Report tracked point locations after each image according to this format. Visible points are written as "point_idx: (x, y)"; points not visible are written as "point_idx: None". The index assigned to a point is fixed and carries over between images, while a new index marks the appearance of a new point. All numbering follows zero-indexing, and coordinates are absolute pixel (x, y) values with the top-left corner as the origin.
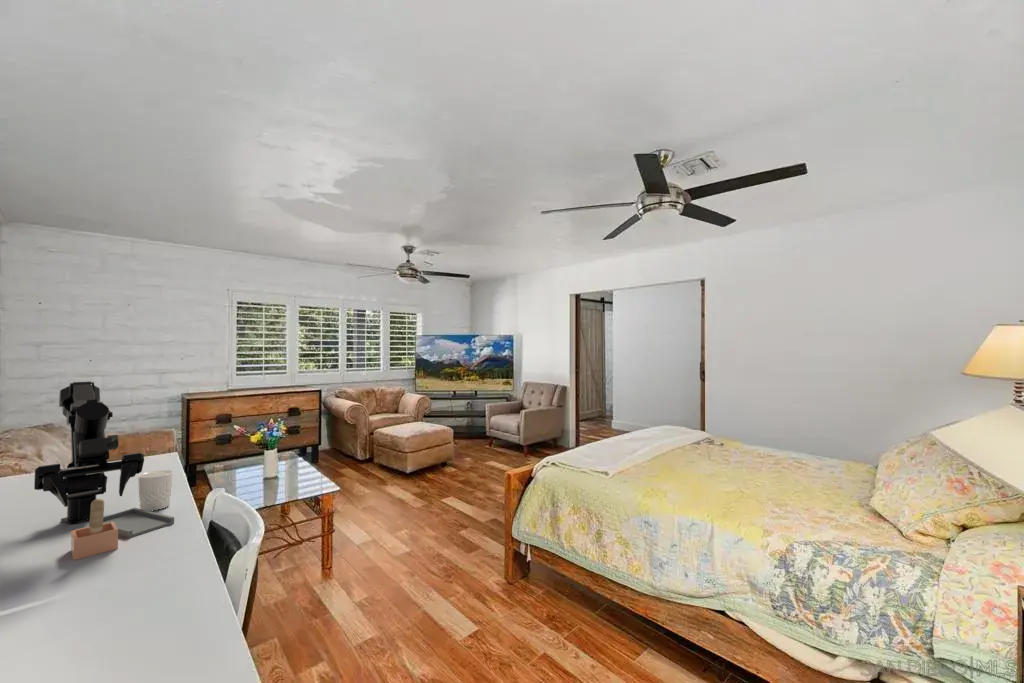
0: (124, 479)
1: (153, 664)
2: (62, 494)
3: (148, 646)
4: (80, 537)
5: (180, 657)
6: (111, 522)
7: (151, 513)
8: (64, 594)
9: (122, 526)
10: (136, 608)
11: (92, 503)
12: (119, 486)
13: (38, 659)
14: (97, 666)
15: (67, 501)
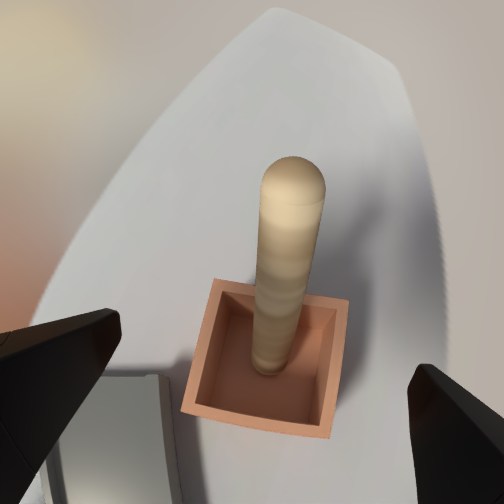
0: (13, 335)
1: (310, 24)
2: (477, 404)
3: (307, 33)
4: (328, 305)
5: (295, 20)
6: (191, 403)
7: (49, 486)
8: (364, 157)
9: (137, 496)
10: (296, 67)
11: (321, 173)
12: (63, 408)
13: (379, 64)
14: (340, 37)
15: (427, 368)
